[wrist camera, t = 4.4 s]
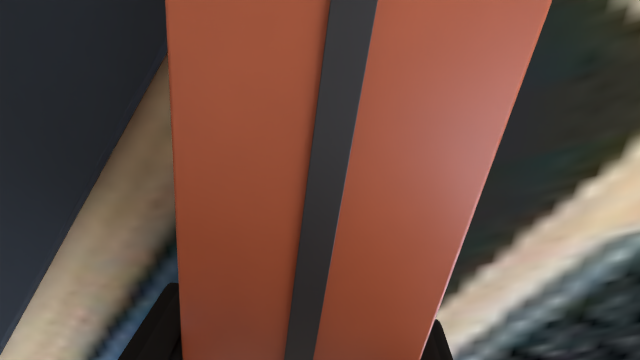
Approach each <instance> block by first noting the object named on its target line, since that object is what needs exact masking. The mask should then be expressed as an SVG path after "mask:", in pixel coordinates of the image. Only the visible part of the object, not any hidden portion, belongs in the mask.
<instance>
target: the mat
mask: <svg viewBox="0 0 640 360" xmlns="http://www.w3.org/2000/svg"><path fill="white" fill-rule="evenodd" d="M167 51H168V48H167V27H166V6H165V0H0V355H1V353H2V351H3V349H4V347H5V345H6V344H7V342H8V340H9V338H10V336H11V335H12V333H13V331H14V329H15V327H16V325H17V324H18V322H19V320H20V318H21V316H22V315H23V313H24V311H25V309H26V307H27V305H28V304H29V302H30V300H31V298H32V296H33V295H34V293H35V291H36V289H37V287H38V286H39V284H40V282H41V280H42V278H43V276H44V275H45V273H46V271H47V269H48V267H49V266H50V264H51V262H52V260H53V258H54V256H55V255H56V253H57V251H58V249H59V247H60V246H61V244H62V242H63V240H64V238H65V236H66V235H67V233H68V231H69V229H70V227H71V226H72V224H73V222H74V220H75V218H76V217H77V215H78V213H79V211H80V209H81V207H82V206H83V204H84V202H85V200H86V198H87V197H88V195H89V193H90V191H91V189H92V187H93V186H94V184H95V182H96V180H97V178H98V177H99V175H100V173H101V171H102V169H103V167H104V166H105V164H106V162H107V160H108V158H109V157H110V155H111V153H112V151H113V149H114V148H115V146H116V144H117V142H118V140H119V138H120V137H121V135H122V133H123V131H124V129H125V128H126V126H127V124H128V122H129V120H130V118H131V117H132V115H133V113H134V111H135V109H136V108H137V106H138V104H139V102H140V100H141V99H142V97H143V95H144V93H145V91H146V89H147V88H148V86H149V84H150V82H151V80H152V79H153V77H154V75H155V73H156V71H157V69H158V68H159V66H160V64H161V62H162V60H163V59H164V57H165V55H166V53H167Z"/></svg>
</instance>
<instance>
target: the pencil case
mask: <svg viewBox="0 0 640 360" xmlns="http://www.w3.org/2000/svg"><path fill="white" fill-rule="evenodd" d="M551 2H552V0H165V6H166V27H167V48H168V69H169V90H170V111H171V131H172V152H173V173H174V194H175V215H176V236H177V256H178V277H179V298H180V319H181V340H182V357H183V360H420V359H421V356H422V353H423V351H424V348H425V345H426V342H427V340H428V337H429V334H430V331H431V329H432V326H433V323H434V321H435V318H436V315H437V312H438V310H439V307H440V304H441V302H442V299H443V296H444V293H445V291H446V288H447V285H448V282H449V280H450V277H451V274H452V272H453V269H454V266H455V263H456V261H457V258H458V255H459V252H460V250H461V247H462V244H463V242H464V239H465V236H466V233H467V231H468V228H469V225H470V223H471V220H472V217H473V214H474V212H475V209H476V206H477V203H478V201H479V198H480V195H481V193H482V190H483V187H484V184H485V182H486V179H487V176H488V173H489V171H490V168H491V165H492V163H493V160H494V157H495V154H496V152H497V149H498V146H499V144H500V141H501V138H502V135H503V133H504V130H505V127H506V124H507V122H508V119H509V116H510V114H511V111H512V108H513V105H514V103H515V100H516V97H517V94H518V92H519V89H520V86H521V84H522V81H523V78H524V75H525V73H526V70H527V67H528V65H529V62H530V59H531V56H532V54H533V51H534V48H535V45H536V43H537V40H538V37H539V35H540V32H541V29H542V26H543V24H544V21H545V18H546V16H547V13H548V10H549V7H550V5H551Z"/></svg>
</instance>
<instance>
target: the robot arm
mask: <svg viewBox="0 0 640 360" xmlns="http://www.w3.org/2000/svg"><path fill="white" fill-rule="evenodd" d="M118 360H183V357H182V340H181V319H180V298H179V283H172V282H171V283H169V284H168V285H167V286H166V287H165V288H164V290H163V291H162V293H161V294H160V296H159V297H158V299H157V301H156V302H155V304H154V305H153V307H152V308H151V310H150V311H149V313H148V314H147V316H146V317H145V319H144V320H143V322H142V323H141V325H140V327H139V328H138V330H137V331H136V333H135V334H134V336H133V337H132V339H131V340H130V342H129V343H128V345H127V346H126V348H125V349H124V351H123V352H122V354H121V356H120V357H119V359H118ZM420 360H453V358H452V355H451V352H450V349H449V346H448V343H447V340H446V337H445V334H444V331H443V328H442V326H441V324H440V322H439V321H438V320H437V319H435V321H434V323H433V326H432V329H431V331H430V334H429V337H428V340H427V342H426V345H425V348H424V351H423V353H422V356H421V359H420Z"/></svg>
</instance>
